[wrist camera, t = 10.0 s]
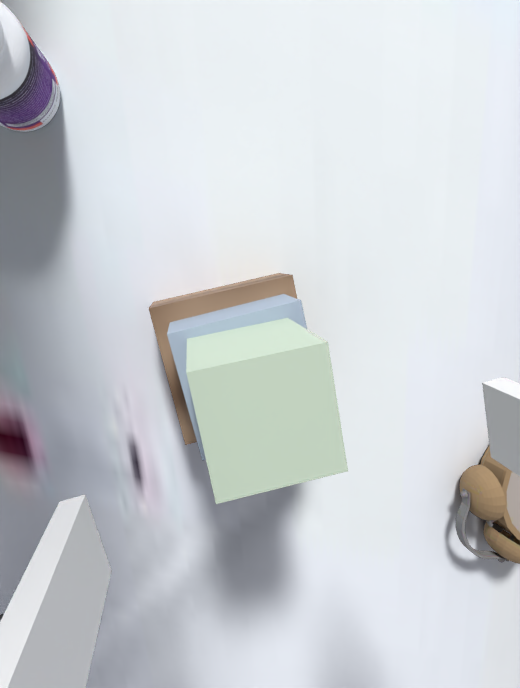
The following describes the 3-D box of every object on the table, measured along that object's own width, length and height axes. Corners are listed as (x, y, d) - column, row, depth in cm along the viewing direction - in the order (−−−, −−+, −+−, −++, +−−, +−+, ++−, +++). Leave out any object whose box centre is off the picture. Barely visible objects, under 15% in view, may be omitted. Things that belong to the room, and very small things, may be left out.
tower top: (170, 322, 31) (166, 334, 26) (283, 293, 32) (301, 300, 27) (200, 430, 33) (202, 460, 28) (307, 400, 34) (327, 424, 29)
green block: (186, 338, 26) (186, 372, 19) (287, 317, 27) (327, 341, 19) (208, 434, 28) (216, 504, 20) (304, 412, 28) (347, 471, 21)
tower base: (153, 301, 36) (148, 308, 31) (278, 273, 37) (292, 275, 32) (185, 420, 38) (185, 445, 33) (302, 390, 39) (319, 409, 34)
